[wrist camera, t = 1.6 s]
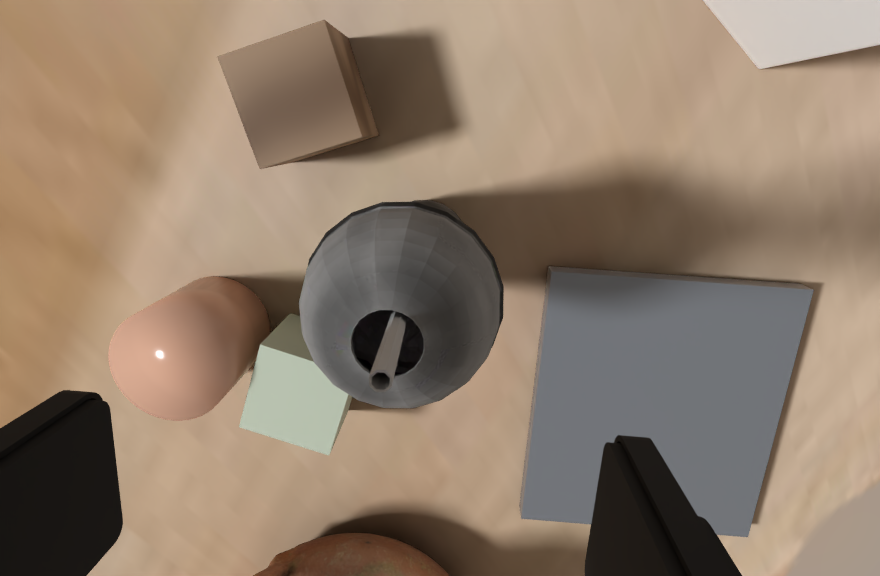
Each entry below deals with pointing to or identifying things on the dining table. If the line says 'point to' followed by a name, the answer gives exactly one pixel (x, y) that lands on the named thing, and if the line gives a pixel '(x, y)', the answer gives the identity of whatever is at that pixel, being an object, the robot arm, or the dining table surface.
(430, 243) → the beverage cup
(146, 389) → the peach rounded capsule
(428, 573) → the ceramic jug
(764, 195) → the dining table surface
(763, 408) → the slate board
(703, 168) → the dining table surface
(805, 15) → the milk
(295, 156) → the walnut block
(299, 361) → the sage block
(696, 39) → the dining table surface
